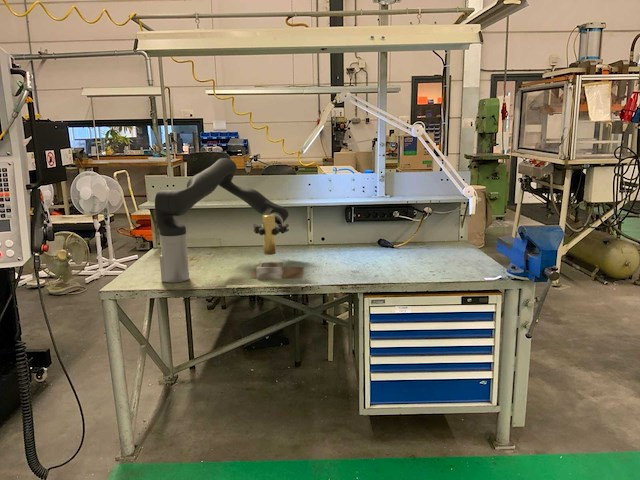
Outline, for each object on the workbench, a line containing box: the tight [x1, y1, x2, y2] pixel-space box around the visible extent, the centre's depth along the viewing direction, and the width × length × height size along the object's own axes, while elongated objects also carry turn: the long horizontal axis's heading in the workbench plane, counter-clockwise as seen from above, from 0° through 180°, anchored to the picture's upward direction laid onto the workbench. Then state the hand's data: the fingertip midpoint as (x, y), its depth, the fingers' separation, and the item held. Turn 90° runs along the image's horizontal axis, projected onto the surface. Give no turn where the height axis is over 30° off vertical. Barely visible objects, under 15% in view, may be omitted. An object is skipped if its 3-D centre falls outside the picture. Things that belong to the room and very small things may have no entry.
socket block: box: [249, 261, 305, 280], centre depth 181 cm, size 19×16×5 cm
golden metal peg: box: [261, 214, 277, 256], centre depth 175 cm, size 4×4×14 cm
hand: (268, 232), depth 172 cm, fingers closed on golden metal peg, 4 cm apart
